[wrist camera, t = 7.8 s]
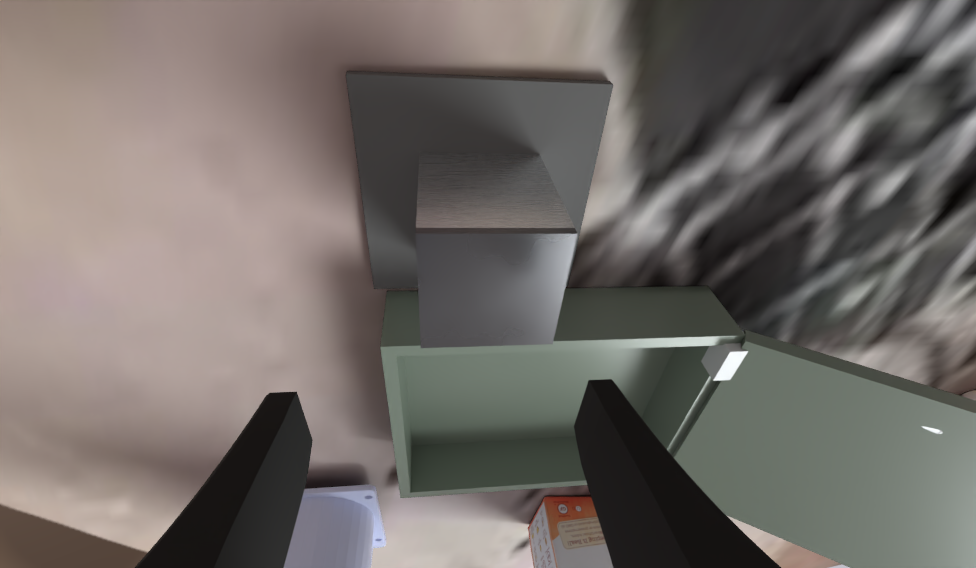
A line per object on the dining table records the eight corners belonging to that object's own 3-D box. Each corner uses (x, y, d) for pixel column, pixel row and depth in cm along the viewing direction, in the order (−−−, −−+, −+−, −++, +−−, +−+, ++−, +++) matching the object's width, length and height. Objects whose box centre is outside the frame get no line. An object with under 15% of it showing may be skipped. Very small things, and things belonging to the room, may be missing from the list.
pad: (565, 280, 21) (567, 285, 21) (374, 283, 20) (374, 288, 20) (609, 81, 16) (613, 84, 15) (347, 70, 15) (345, 74, 14)
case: (810, 421, 32) (952, 607, 23) (403, 444, 29) (391, 672, 20) (934, 281, 24) (1225, 487, 15) (386, 291, 21) (354, 563, 12)
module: (526, 252, 19) (552, 344, 15) (423, 253, 19) (420, 348, 15) (540, 154, 17) (577, 233, 12) (419, 152, 16) (415, 233, 12)
